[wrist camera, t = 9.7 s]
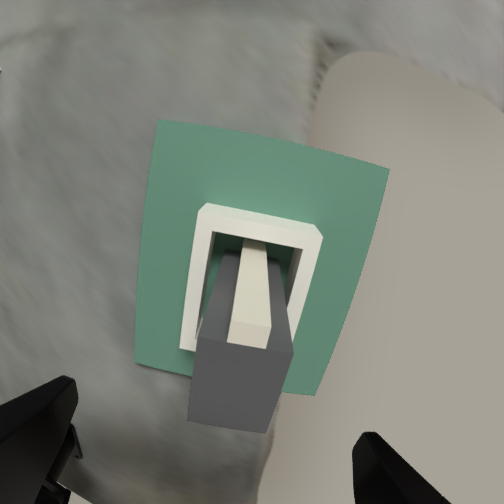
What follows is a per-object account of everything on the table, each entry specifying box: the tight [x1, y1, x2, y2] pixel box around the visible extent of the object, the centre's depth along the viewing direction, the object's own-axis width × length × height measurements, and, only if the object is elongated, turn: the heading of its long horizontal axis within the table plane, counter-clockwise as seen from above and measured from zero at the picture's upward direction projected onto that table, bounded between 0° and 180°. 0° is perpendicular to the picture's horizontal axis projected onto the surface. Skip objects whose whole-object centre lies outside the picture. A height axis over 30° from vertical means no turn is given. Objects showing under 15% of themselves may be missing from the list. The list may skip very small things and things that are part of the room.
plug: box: [187, 238, 294, 433], centre depth 14 cm, size 5×3×9 cm, turn 169°
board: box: [134, 119, 389, 396], centre depth 18 cm, size 16×13×4 cm
